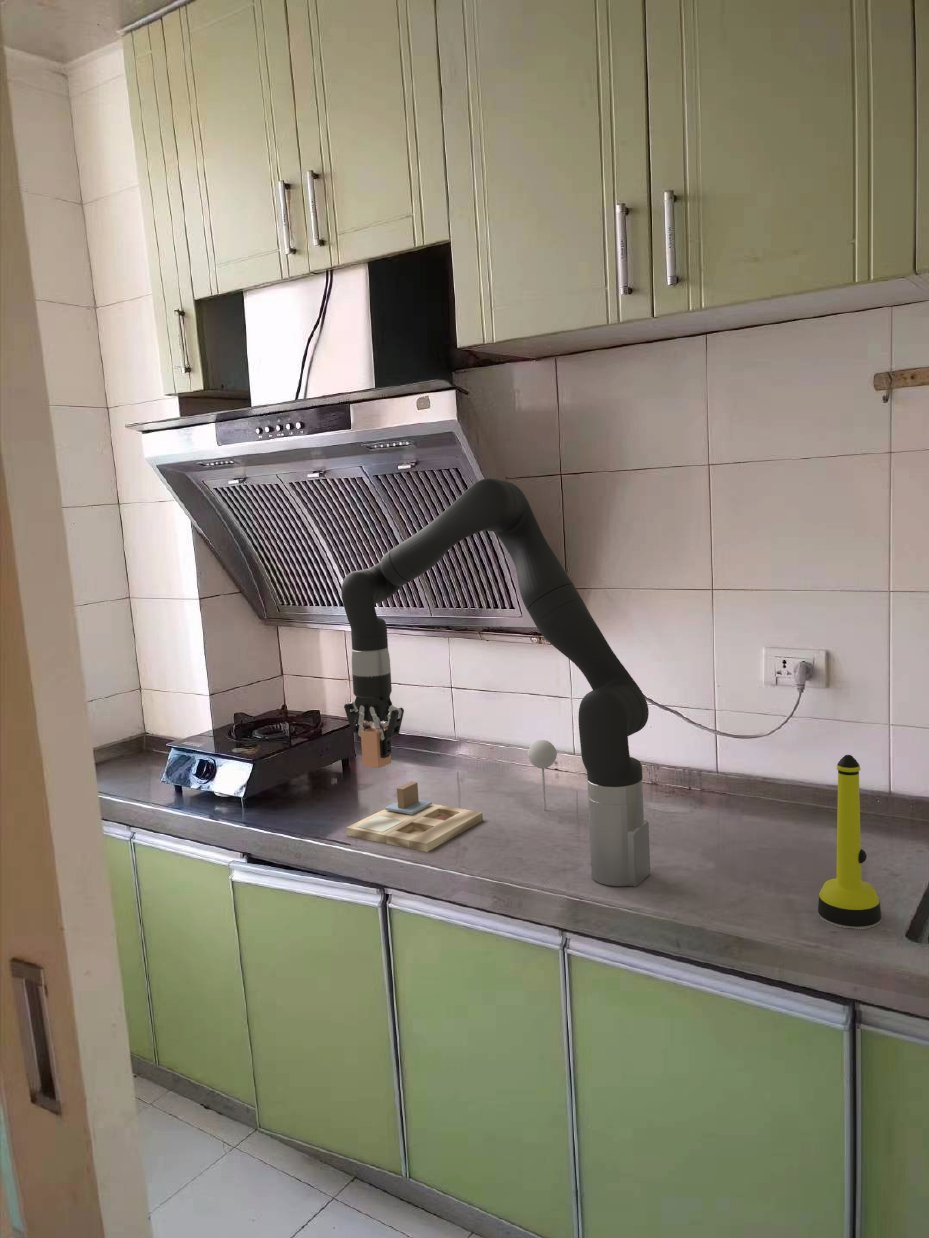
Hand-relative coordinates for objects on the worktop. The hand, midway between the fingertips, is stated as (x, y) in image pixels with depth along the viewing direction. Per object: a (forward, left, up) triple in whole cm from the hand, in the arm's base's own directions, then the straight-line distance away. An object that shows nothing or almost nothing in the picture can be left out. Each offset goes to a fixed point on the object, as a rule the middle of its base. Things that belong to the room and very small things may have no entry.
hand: (376, 755), depth 186 cm
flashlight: (-88, -4, -16) cm, 90 cm away
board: (-5, -5, -16) cm, 18 cm away
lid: (0, -10, -14) cm, 17 cm away
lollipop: (-23, -26, -16) cm, 38 cm away
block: (0, 0, -2) cm, 2 cm away
